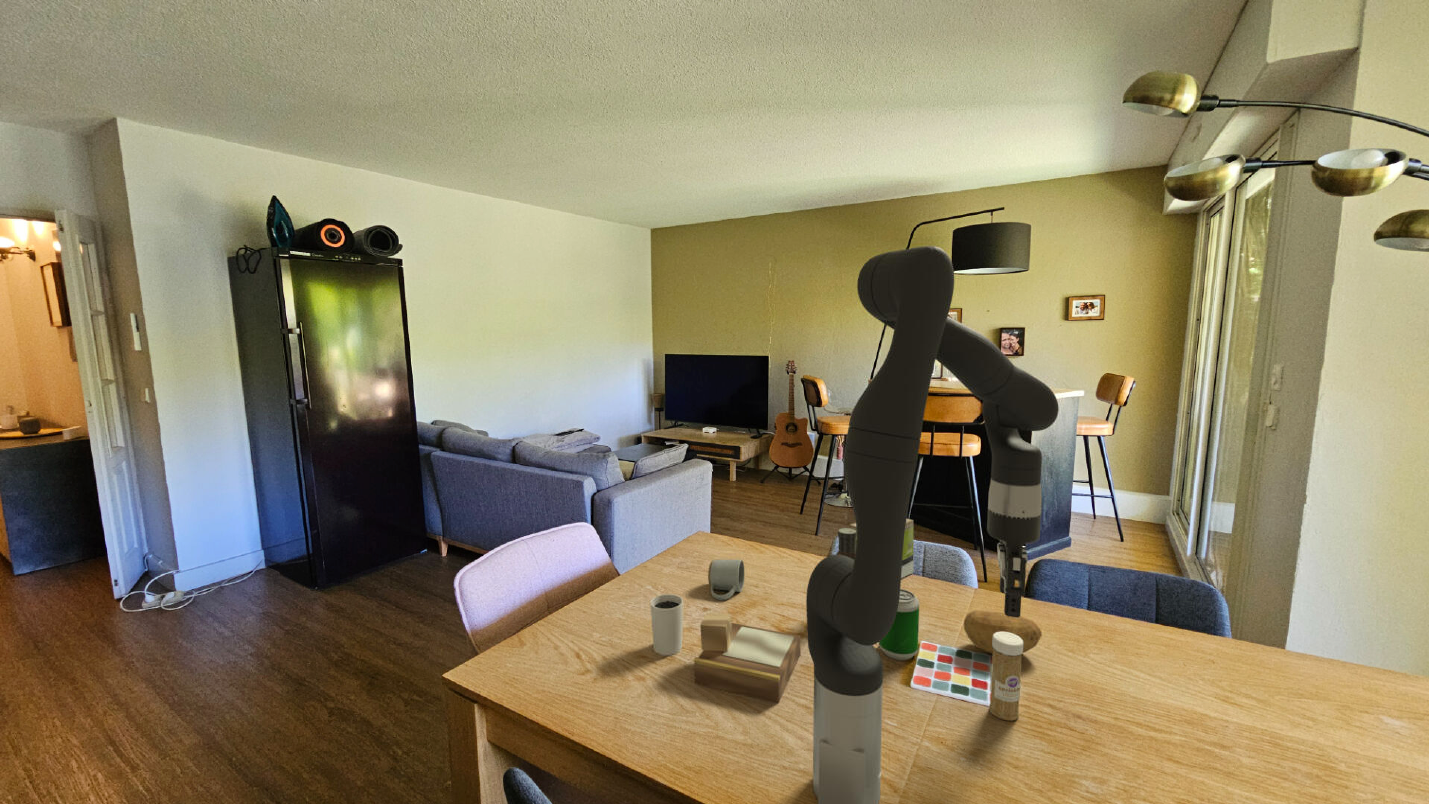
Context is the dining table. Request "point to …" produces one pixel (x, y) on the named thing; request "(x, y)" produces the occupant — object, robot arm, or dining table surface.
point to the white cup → (667, 623)
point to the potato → (999, 629)
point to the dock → (751, 663)
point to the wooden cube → (716, 632)
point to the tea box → (907, 548)
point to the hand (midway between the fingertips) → (1009, 603)
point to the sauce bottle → (847, 542)
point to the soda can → (903, 629)
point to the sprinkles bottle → (1006, 675)
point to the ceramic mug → (726, 576)
